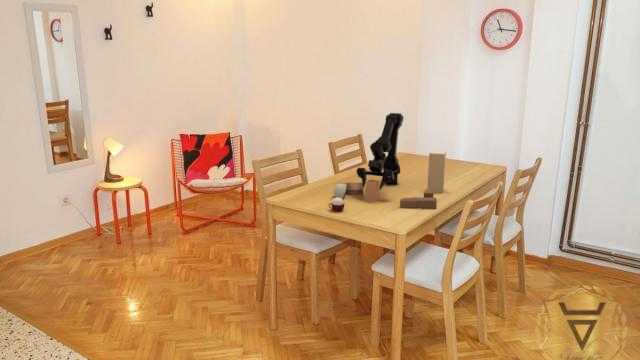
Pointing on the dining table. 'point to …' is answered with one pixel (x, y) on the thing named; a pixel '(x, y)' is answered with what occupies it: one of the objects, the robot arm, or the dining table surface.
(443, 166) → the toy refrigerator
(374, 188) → the terracotta block
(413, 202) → the wooden block set
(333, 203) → the cocoa
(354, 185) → the walnut slab
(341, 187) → the grey green canister
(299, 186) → the dining table surface
